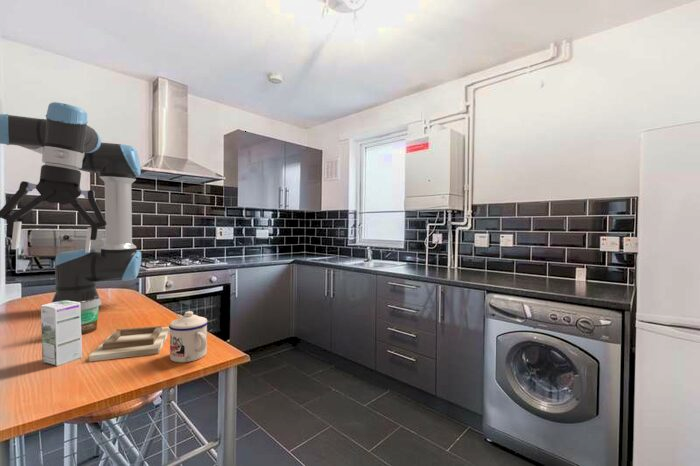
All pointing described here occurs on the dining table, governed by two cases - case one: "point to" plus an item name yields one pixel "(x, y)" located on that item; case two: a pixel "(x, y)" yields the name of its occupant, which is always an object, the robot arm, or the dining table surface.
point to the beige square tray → (131, 343)
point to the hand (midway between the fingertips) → (52, 250)
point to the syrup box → (61, 332)
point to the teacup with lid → (188, 338)
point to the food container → (89, 315)
